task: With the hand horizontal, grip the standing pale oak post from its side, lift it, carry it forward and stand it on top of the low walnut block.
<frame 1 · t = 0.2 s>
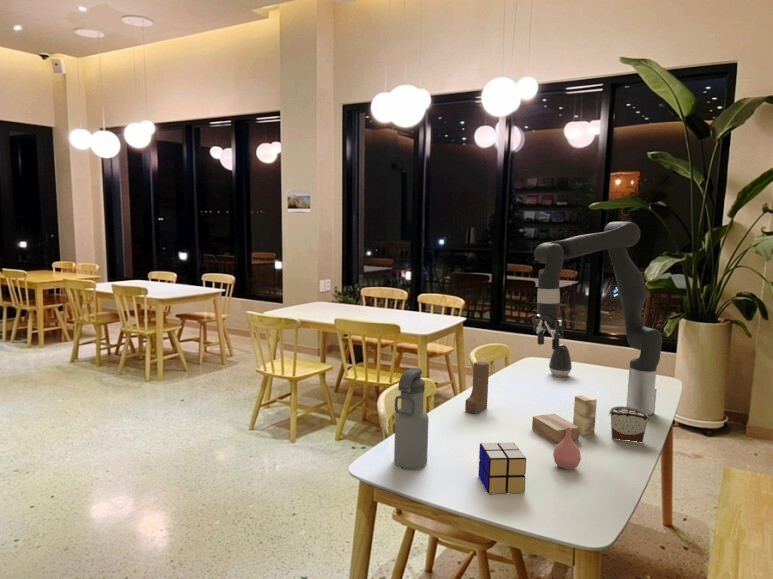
hand: (547, 346, 179), 28 cm above the table, tool pointing down, fingers open, 8 cm apart
pink vase: (566, 468, 150), on the table
puzzle cube: (500, 485, 139), on the table
oak post: (583, 430, 178), on the table
food container: (625, 438, 173), on the table
wooden block: (476, 410, 196), on the table
water bottle: (410, 463, 151), on the table
grey egg shape: (559, 375, 245), on the table
base block: (554, 435, 174), on the table
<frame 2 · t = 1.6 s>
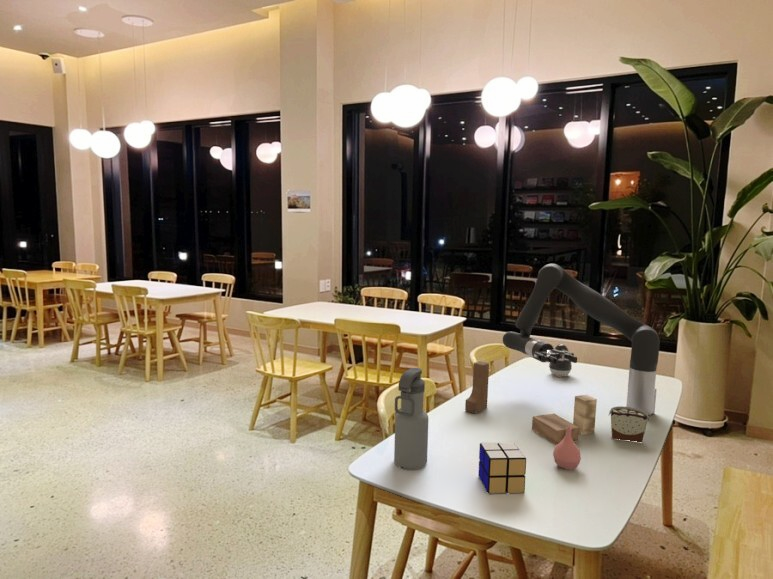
hand: (566, 361, 185), 22 cm above the table, tool horizontal, fingers open, 8 cm apart
nothing on the table moved.
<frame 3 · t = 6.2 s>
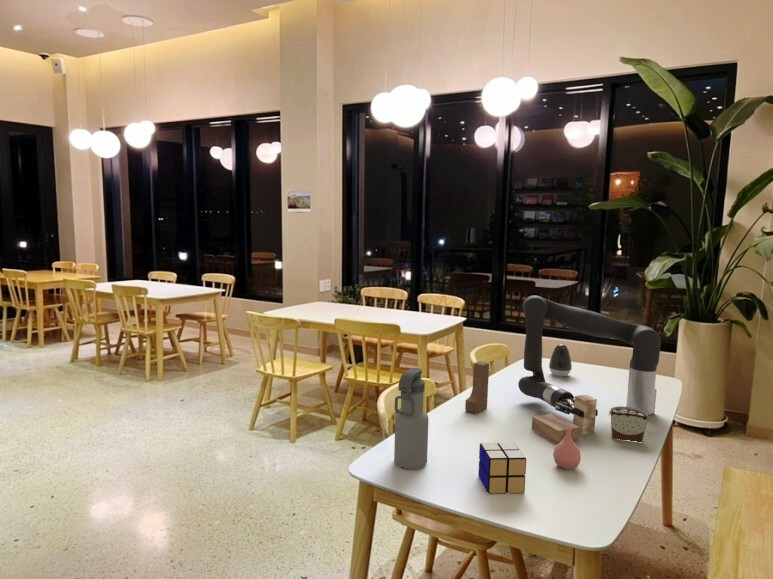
hand: (590, 414, 174), 7 cm above the table, tool horizontal, fingers closed on oak post, 5 cm apart
oak post: (583, 430, 178), on the table, touching gripper
everything else where it was.
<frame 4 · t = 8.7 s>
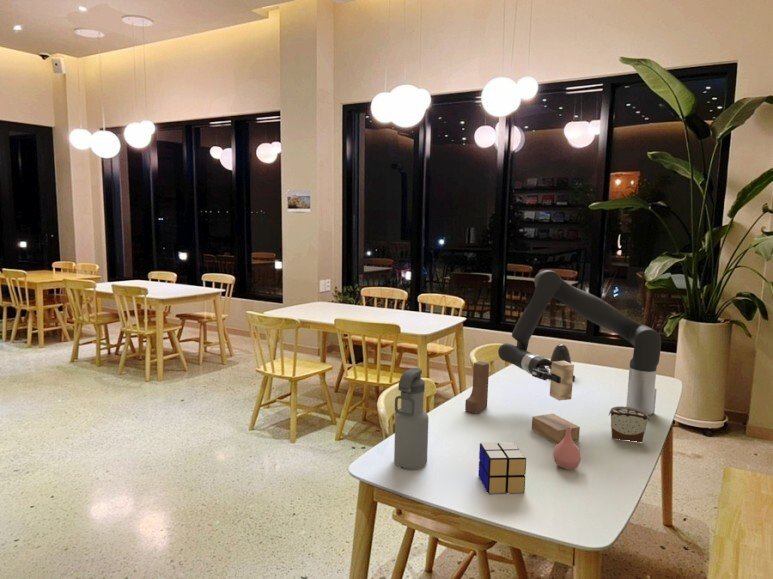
hand: (566, 379, 170), 20 cm above the table, tool horizontal, fingers closed on oak post, 5 cm apart
oak post: (560, 397, 173), point 13 cm above the table, touching gripper
everything else where it was.
when the fingers open (12 cm above the table, at t = 11.2 s): oak post stays where it is, resting on base block.
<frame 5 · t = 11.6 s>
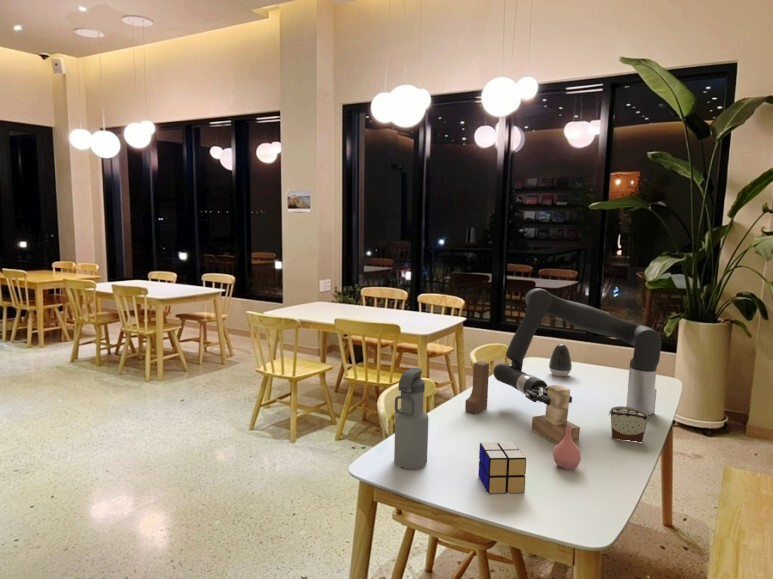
hand: (560, 401, 170), 12 cm above the table, tool horizontal, fingers open, 8 cm apart
oak post: (555, 421, 173), point 5 cm above the table, touching base block
base block: (554, 435, 174), on the table, touching oak post
everything else where it was.
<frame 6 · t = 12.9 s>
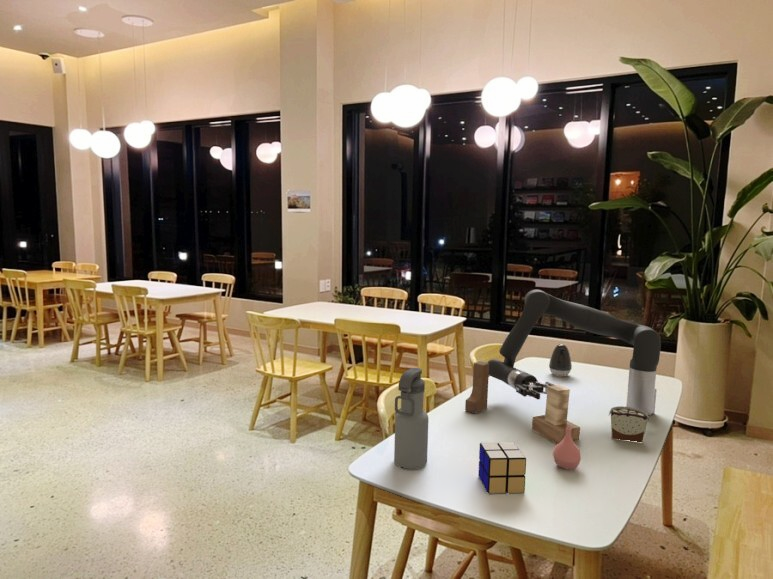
hand: (549, 395, 176), 13 cm above the table, tool horizontal, fingers open, 8 cm apart
nothing on the table moved.
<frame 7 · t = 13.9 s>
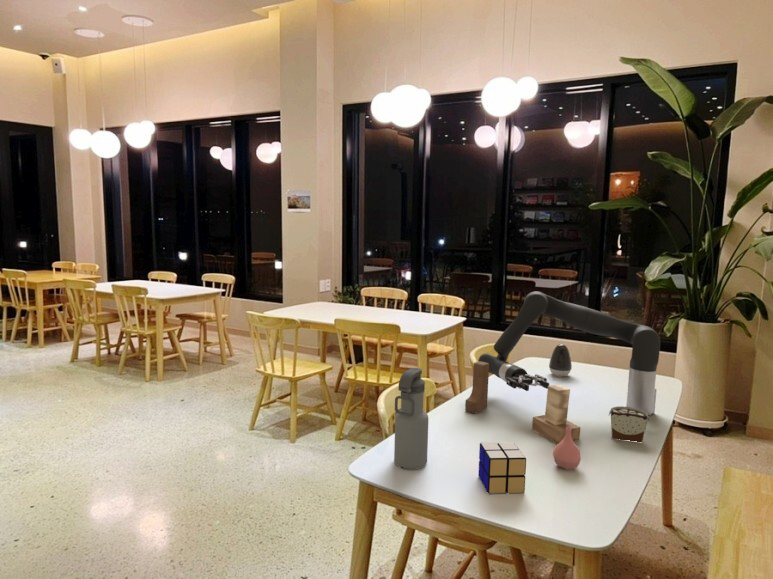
hand: (538, 387, 183), 13 cm above the table, tool horizontal, fingers open, 8 cm apart
oak post: (555, 421, 173), point 5 cm above the table
base block: (555, 435, 174), on the table
everything else where it was.
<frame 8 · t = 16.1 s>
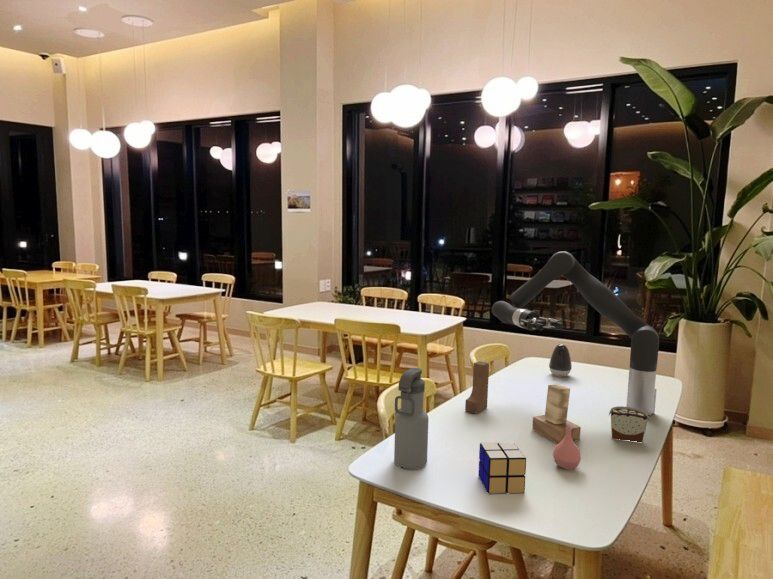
hand: (552, 327, 186), 34 cm above the table, tool horizontal, fingers open, 8 cm apart
oak post: (555, 421, 173), point 5 cm above the table, touching base block
base block: (555, 435, 174), on the table, touching oak post
everything else where it was.
at the end: oak post inside the target area on the base block (0.4 cm from its centre), point 5.1 cm above the base block's base; oak post tilted 1°; the gripper is holding nothing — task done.
